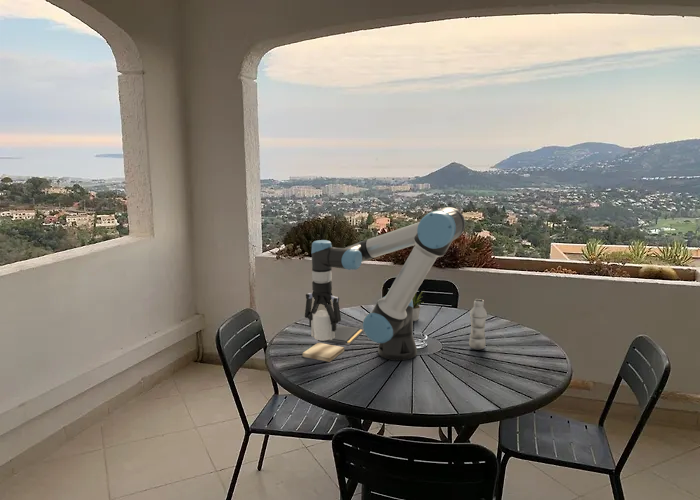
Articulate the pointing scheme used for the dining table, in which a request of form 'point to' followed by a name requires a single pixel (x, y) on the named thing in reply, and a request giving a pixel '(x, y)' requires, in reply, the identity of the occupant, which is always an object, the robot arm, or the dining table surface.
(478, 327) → the plastic bottle
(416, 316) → the house plant
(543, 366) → the dining table surface
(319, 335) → the white cup
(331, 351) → the oak coaster board
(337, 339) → the black book
